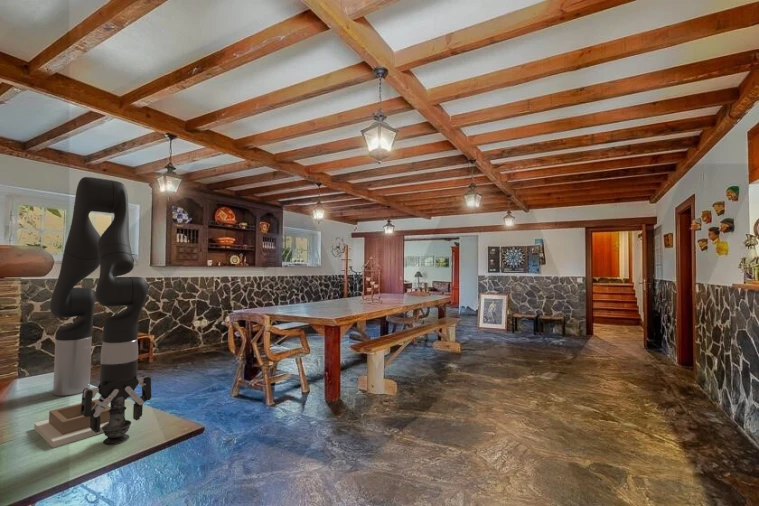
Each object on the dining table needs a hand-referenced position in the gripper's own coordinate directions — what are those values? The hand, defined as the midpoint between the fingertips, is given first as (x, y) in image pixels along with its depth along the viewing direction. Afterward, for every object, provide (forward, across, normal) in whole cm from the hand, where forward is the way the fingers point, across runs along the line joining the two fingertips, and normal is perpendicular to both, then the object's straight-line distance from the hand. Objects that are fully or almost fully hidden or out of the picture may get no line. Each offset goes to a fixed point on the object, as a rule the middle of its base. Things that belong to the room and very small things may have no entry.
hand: (116, 425), depth 92 cm
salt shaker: (+4, 0, 0) cm, 4 cm away
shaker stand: (+4, +3, -14) cm, 15 cm away
